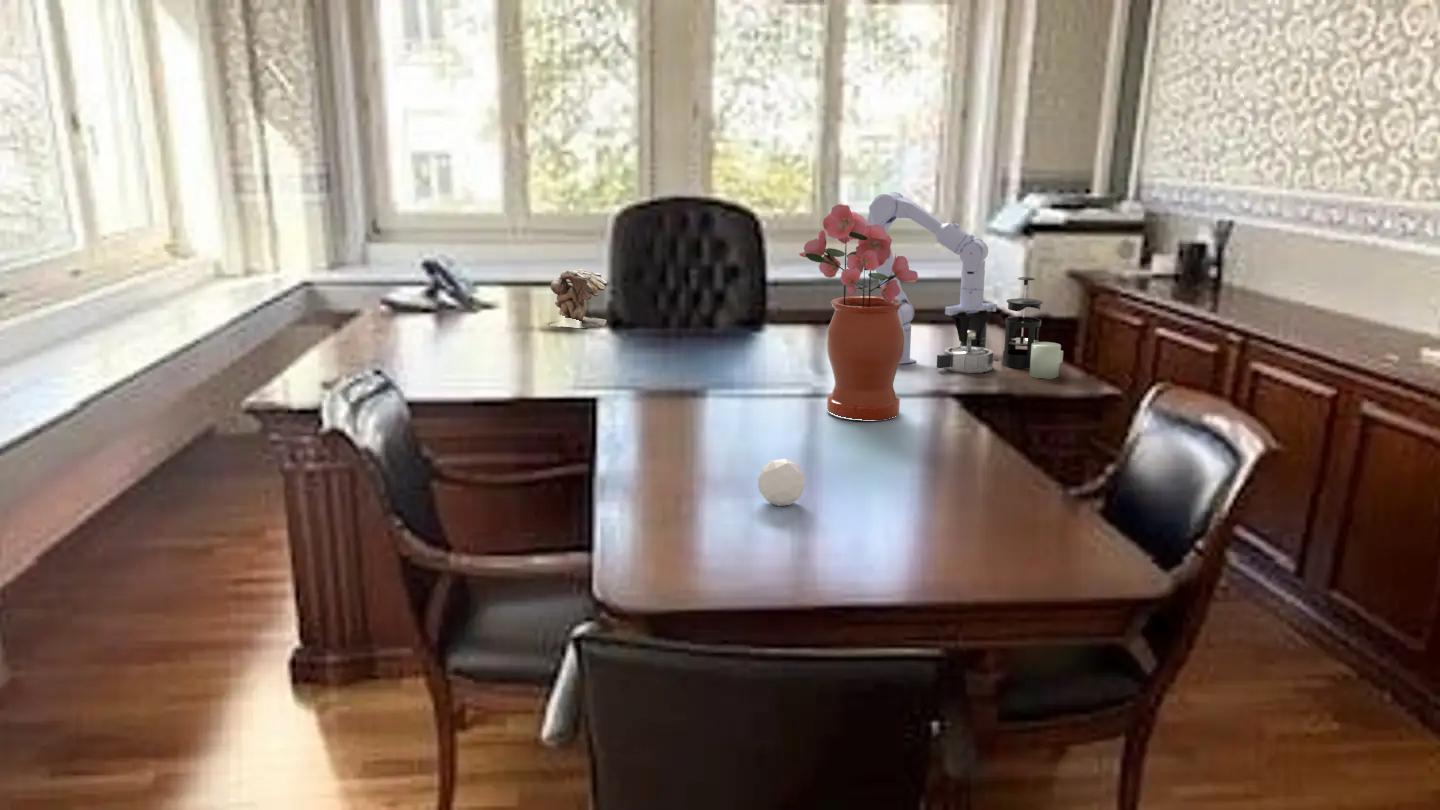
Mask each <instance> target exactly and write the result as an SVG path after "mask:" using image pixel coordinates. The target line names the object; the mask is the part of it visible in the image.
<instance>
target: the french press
mask: <svg viewBox="0 0 1440 810" xmlns="http://www.w3.org/2000/svg"><path fill="white" fill-rule="evenodd" d="M1017 280H1019V281H1023V286H1024V295H1023V297H1020V298H1019V297H1017V298H1009V299H1007V300H1006V303H1008V304H1007V310H1008V311H1013V312H1021V311H1022V316H1008V317H1006V318H1005V320H1004V321H1005V323H1004V324H1005V332H1004V335H1005V338H1004V349H1003V351H1002V352H1003V353H1002V361H1001V365H1002V366H1004V367H1006V366H1007V368H1011V367H1012V369H1018V370H1019V369H1021V370H1024V369H1027V370H1028V369H1029V370H1030V359H1031V345H1032V343H1034V342H1040V341H1039V340H1040V327H1041V326H1042V319H1039V318H1037V317H1030V316H1025V312H1026V311H1025V310H1026V309H1027V308H1034V309H1038V310H1039V311H1041V307H1042V306H1041V305H1042V304H1043V303H1044V302H1043V300H1040V299H1035V298H1034V299H1033V298H1028V297H1027V296H1026V294H1027V286H1028V285H1029V281H1034V280H1035V278H1034V277H1030V276H1021V277H1017ZM1018 328H1020V329H1021V336H1020V337H1017V335H1018V334H1017V332H1018V331H1017V330H1018ZM1024 329H1028V333H1027V337H1024ZM1018 346H1019V347H1027V348H1016V347H1018Z"/></svg>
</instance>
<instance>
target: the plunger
mask: <svg viewBox="0 0 1440 810" xmlns="http://www.w3.org/2000/svg"><path fill="white" fill-rule="evenodd" d="M976 336H977V331H974V330H968V332H967V348H958V349H953V350H951V352H952V353H956V354H963V355H981V354H986V351H984V350H980V349H973V348H971V340H973V339H976Z"/></svg>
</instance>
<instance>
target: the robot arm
mask: <svg viewBox="0 0 1440 810" xmlns="http://www.w3.org/2000/svg"><path fill="white" fill-rule="evenodd" d="M868 210H869V211H868V216H867V220H866V221H867V224H866V225H870V226H871V225H875V224H877V225H880V226H882V227H883V228H884V229H885V232H886V234H887V236H888V235H889V234H888V233H887V232H888V230H889V228H890V227H891V226H892V224H893V222H894V221H895V220H896V219H910V220H911V221H913V222H914V223H917V224H918V225H920V226H922V227H923V228H925V229H926V230H928V231H930V232H932V233H933V234H935V237H936V242H937V243H939V244H941V245H942V246H943V247H945V248H946V249H947V250H949V251H951V252H953V254H956V255H957V256H959V258H960V261H962V264H961V265H962V266H961V267H962V269H961V276H960V277H961V278H960V279H961V280H960V294H959V295H960V296H959V304H955V305H950V306H945V309H944V310H945V311H944V314H945V315H947V316H951V319H952V320H953V322H954V325H955V329H956V332H957V336H958V342H960V343H961V342H966V341H967V332H968V326H969V322H970V319H971V320H972V330H974V331H977V336H976V339H973V340H975V341H979V339H980V336H981V333H982V330H983V328H984V326H985V324H986V322H987V323H988V320H989V319H990V317H991V313H989V312H992V313H993V312H997V303H994V302H987V303H985V302H984V292H985V291H984V289H985V278H986V277H985V274H986V270H985V269H986V268H985V267H986V260H985V259H986V258H987V256H988V254H989V247H988V245H987V243H986V242H984V241H983V239H980V238H975V235H974V234H969V233H967V232H966V231H964V230H963V229H961V228H960V224H959V223H956V222H954V223H953V222H945V223H943V222H942V221H941V220H939V219H938V218H937V217H935V216H933V214H931V213H930V212H928V211H927V210H925V209H924V208H923V207H921V206H920V205H918V204H917V203H916V202H914V201H913V200H912V199H910V198H909V197H906V196H904V195H902V194H901V193H900V192H897V191H895V192H894V191H893V192H889V193H883V194H878V195H876V197H875V198H874V199H873V201H872V202H871V203H870V205H869V207H868ZM883 239H884V238H883ZM890 251H891V253H890V258H889V259H886V261H885V262H884V264H883V265H881V266H879V267H878V268H876V269H875V273H880V274H884V275H886V276H887V277H890V275H891V276H892V275H895V274H894V272H892V266H893V263H894V258H895V257H894V255H893V251H892V247H891V246H890ZM891 273H892V274H891ZM887 280H888V279H885V280H884V281H883V280H882V281H883V282H882V281H880V280H878V283H879V284H880V283H881V282H882V283H884V282H885V281H887ZM891 280H897V284H898V286H899V288H900V293H899V295H898V296H895V299H897V300H900V301H901V302H902V306H901V307H900V309H898V314H899V317H900V320H901V323H902V326H903V329H904V349H903V354H902V358H901V361H900V364H899V365H902V364H910V363H916V362H917V360H916V359H914V358H911V340H912V339H911V338H912V326H911V321H912V320H913V319H914V316H915V308H914V306H913V304H911V303H910V301H909V299H908V296H907V293H905V291H904V290H903V289H902V285H901V281H900V280H898V279H897V278H896V277H895V278H893V279H891ZM882 283H881V284H882ZM886 283H887V282H886ZM886 283H884V284H883V285H881V286H879V287H881V288H882V287H883V286H884V285H885V284H886ZM879 284H878V285H879ZM881 288H880V289H881ZM881 297H883V296H882V295H881ZM966 313H970V314H971V317H969V316H967V315H966Z"/></svg>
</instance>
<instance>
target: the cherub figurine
mask: <svg viewBox="0 0 1440 810" xmlns="http://www.w3.org/2000/svg"><path fill="white" fill-rule="evenodd" d="M568 281H570V282H568ZM607 284H608V281H606V280H605V279H604V278H602V274H601V273H596V272H592V271H591V270H589V269H586V268H585V269H584V268H583V269H582V268H580V269H575V270H572V269H565V270H563V271H562V272H561V273H560V277H557V278H556V277H555V278H554V279H552V280H551V283H550V290H551V291H552V292H553V293H554V294H555V295H556V300H555V302H554V305H555V306H556V307H557V308H559V311H558V314H559V316H561V315H562V316H565V318H572V319H576V320H579V321H582V326H583V327H585V328H589V329H593V328H598V327H599V328H600V327H604V326H605V325H606V324H607V319H603V318H597V317H589V316H588V317H586V316H585V313H586V304H585V301H590V300H591V298H592V297H598V296H600V295H599V294H600V291H604V290H606V286H607Z"/></svg>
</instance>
